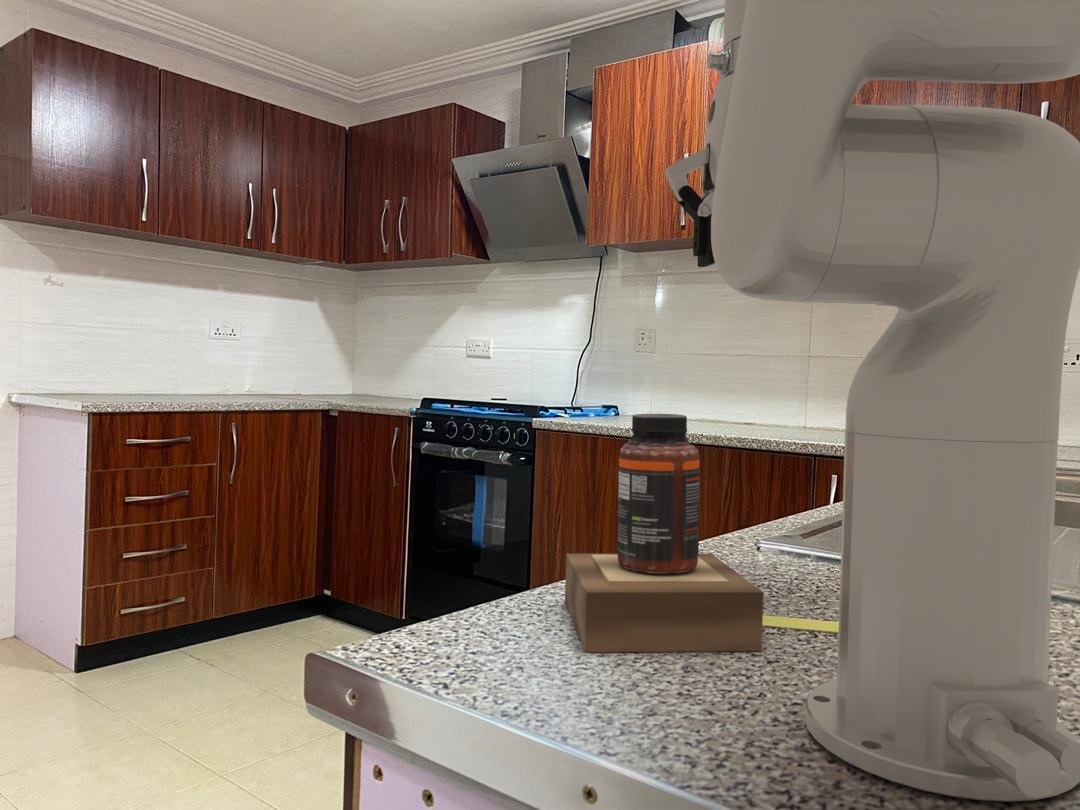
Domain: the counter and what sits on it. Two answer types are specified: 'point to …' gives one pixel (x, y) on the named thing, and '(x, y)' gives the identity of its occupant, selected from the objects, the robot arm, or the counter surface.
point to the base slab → (661, 607)
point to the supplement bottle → (658, 497)
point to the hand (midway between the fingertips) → (759, 267)
